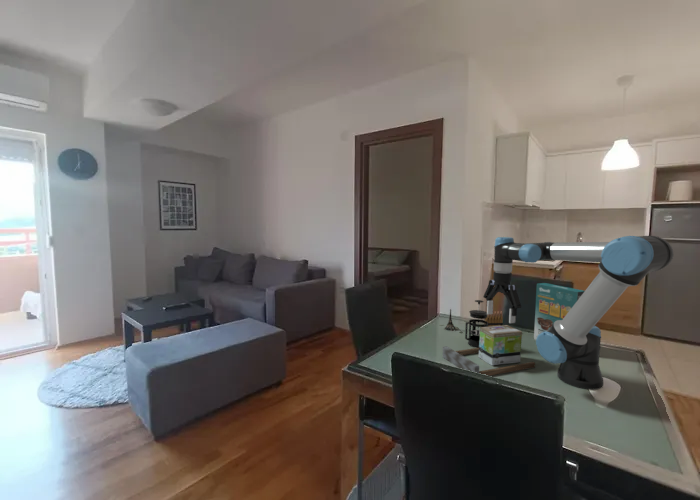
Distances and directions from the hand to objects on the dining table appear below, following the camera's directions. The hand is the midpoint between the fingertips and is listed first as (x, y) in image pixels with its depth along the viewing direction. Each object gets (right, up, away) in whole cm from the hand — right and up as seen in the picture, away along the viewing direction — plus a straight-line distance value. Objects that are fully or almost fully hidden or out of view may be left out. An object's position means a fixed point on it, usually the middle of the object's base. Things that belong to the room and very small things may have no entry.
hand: (500, 318), depth 154 cm
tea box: (0, -20, +2) cm, 20 cm away
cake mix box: (+37, -18, +19) cm, 46 cm away
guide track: (-6, -20, -1) cm, 20 cm away
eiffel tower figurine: (-9, -16, +45) cm, 48 cm away
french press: (-3, -18, +20) cm, 27 cm away
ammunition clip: (+14, -16, +41) cm, 46 cm away
